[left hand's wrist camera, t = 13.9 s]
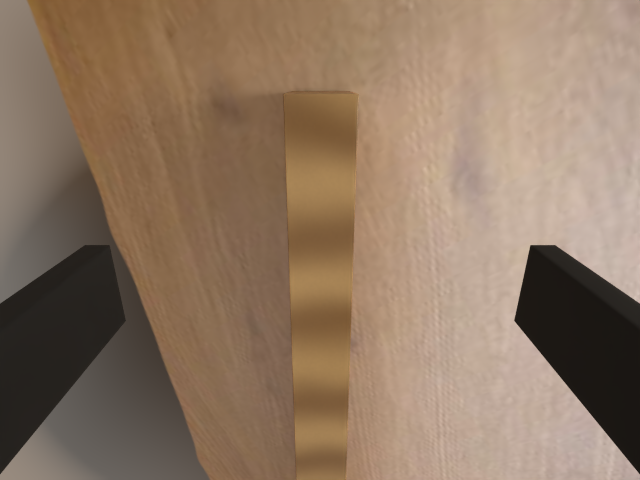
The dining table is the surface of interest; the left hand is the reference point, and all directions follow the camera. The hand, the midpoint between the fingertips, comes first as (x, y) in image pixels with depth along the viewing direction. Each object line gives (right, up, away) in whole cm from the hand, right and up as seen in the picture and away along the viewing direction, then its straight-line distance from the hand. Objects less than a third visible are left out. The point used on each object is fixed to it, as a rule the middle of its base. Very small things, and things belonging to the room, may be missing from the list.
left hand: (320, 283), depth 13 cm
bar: (0, -11, +33) cm, 35 cm away
